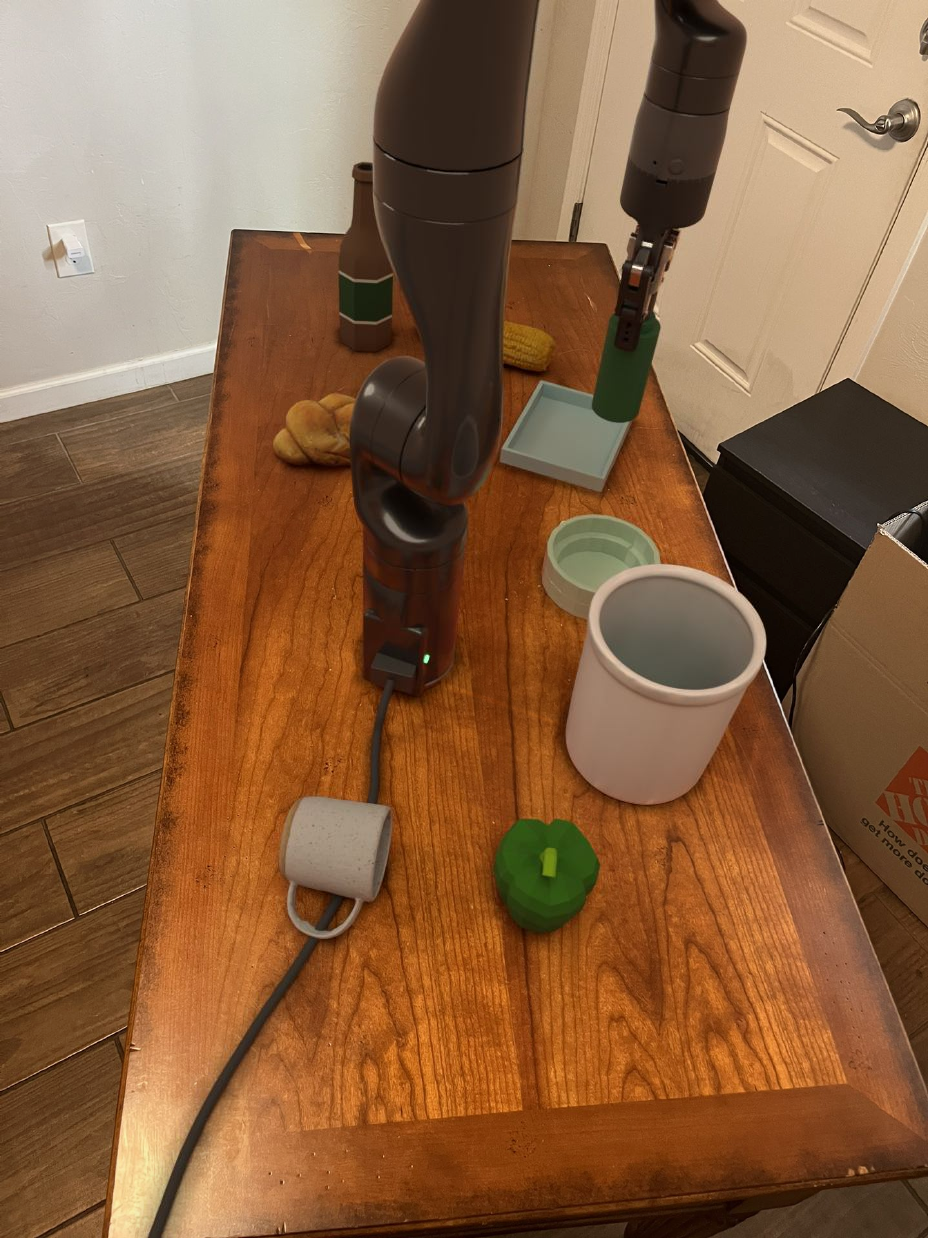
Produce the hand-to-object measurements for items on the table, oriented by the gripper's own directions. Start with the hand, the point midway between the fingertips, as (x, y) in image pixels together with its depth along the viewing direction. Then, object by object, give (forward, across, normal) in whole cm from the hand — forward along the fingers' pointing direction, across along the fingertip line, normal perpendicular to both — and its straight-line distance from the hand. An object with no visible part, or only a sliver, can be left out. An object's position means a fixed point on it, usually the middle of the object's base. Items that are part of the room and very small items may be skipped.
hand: (632, 332), depth 92 cm
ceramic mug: (+25, +52, -7) cm, 58 cm away
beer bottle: (+26, -24, -40) cm, 53 cm away
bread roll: (+26, +2, -34) cm, 42 cm away
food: (+26, -28, -24) cm, 45 cm away
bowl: (+26, +9, +4) cm, 27 cm away
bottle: (+9, 0, 0) cm, 9 cm away
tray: (+26, -14, -7) cm, 30 cm away
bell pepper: (+25, +47, +9) cm, 54 cm away
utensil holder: (+26, +28, +13) cm, 40 cm away
